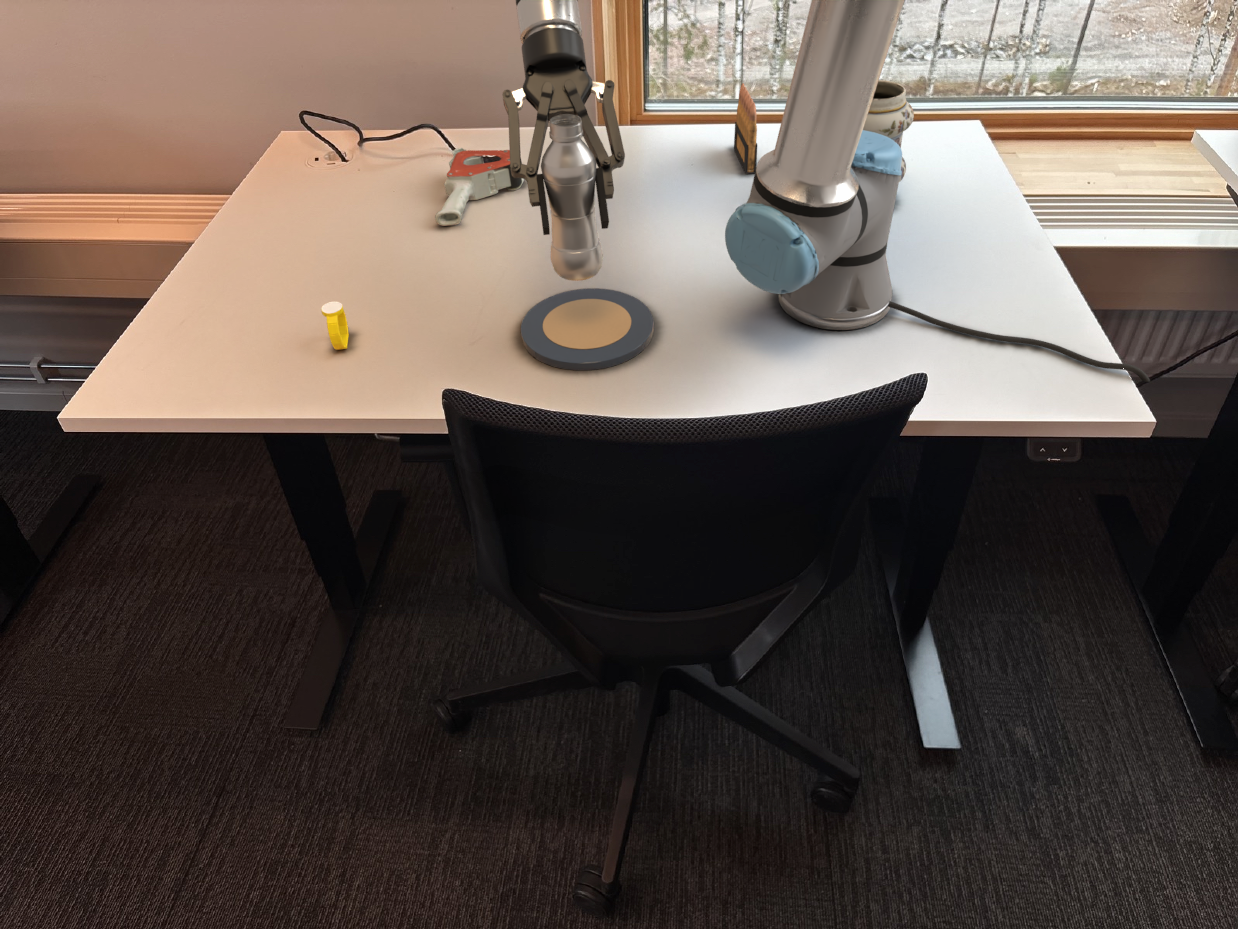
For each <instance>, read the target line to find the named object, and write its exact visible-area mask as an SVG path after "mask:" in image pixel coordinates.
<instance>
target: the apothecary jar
mask: <svg viewBox="0 0 1238 929" xmlns="http://www.w3.org/2000/svg"><path fill="white" fill-rule="evenodd" d="M906 95H907V91H906V88H905V86H904V85H903V84H900V83H898V82H895V81H892V80H885V79H879V81H878V84H877V87H876V90H875V93H874V96H873V99H872V103H871V106H870V109H869V112H868V115H867V118H866V121H865V124H864V127H863V130H865V131H870V132H874V133H878V134H881V135H884V136H886V137H888V138H890V139H892V140H893V141H894V142H896V143H897V144H898V145H899V146H900V148H901V149H902V142H903V137H904V136H903V135H904V132H906V131H907V130H908V129H909V128H910V126H912V124H913V122H914V118H915V112H914V109H913V106H912V105H911V104H910V102H908V101H907V96H906ZM901 171H902V174H901V175H900V179H899V183H900V182H901V181H903V179H904V178H905V176H906V173H907V163H906V161H905V158H904V157H903V156H902V163H901Z"/></svg>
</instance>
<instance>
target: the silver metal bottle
mask: <svg viewBox="0 0 1238 929" xmlns="http://www.w3.org/2000/svg"><path fill="white" fill-rule="evenodd" d="M548 125H549V132H548V134H549V135H548V136H549V138H550V139H551V142H550V143H549V145H548V146H547V147H546V150H545V151H544V153H543V154H542V156H541V161H540V170H541V174H542V175H543V180H544V188H545V191H546V193H547V198H548V204H549V205H548V206H549V209H550V211H549V212H550V217H551V243H550V261H551V265H552V268H553V270H554V272H555V273H556V274H557V275H558V276H559V277H560V278H561V279H564V280H567V281H575V282H578V281H579V282H580V281H587V280H589V279H592V278H593V277H595V276H596V275H598V273H599V272H600V270H601V269H602V267H603V261H604V259H603V258H604V253H603V247H602V243H601V241H600V240H601V239H600V238H599V232H598V226H597V220H596V207H595V205H596V204H595V203H596V199H595V196H596V195H595V191H596V181H595V180H596V168H597V164H596V161H595V158H594V155H593V153H592V152H591V151H590V149H589V147H588V145H587V143H586V142H585V141H584V140H583V139H582V138H584V137H583V129H582V120H581V117H579V116H577V115H573V114H562V115H557V116H554V117H552V118H551V119H550V121H549V123H548Z"/></svg>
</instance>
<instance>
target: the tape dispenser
mask: <svg viewBox="0 0 1238 929" xmlns="http://www.w3.org/2000/svg"><path fill="white" fill-rule="evenodd" d="M520 154H521V151H520ZM486 156H490V157H493V156H495V157H497V158H499V160H497V161H492V162H484V157H486ZM521 164H523V163H522V160H521ZM448 166H449V170H448V172H447V173H446V180H445V182H444V183H443V185H444V190H445V194H446V195H447V196H448V197H447V199H446V200H445V202H444V204H443V206H442V208H441V210H439V211H438V212H436V213H435V216H434V220H435V222H436V223H437V224H438V225H440V226H442V227H444V226H446V227H447V226H456V225H459V224H460V223H461V222H462V220H463V219H462V218H463V216H462V215H463V213H464V212H465V208H466V206H467V203H468V202H469V201H477V200H481V199H484V198H488V197H490V196H491V197H492V196H494V195H496V194H498V193H499V190H502V189H506V190H507V191H516V190H519V189H521V187H522V185H523V184H524V181H526V180H525V179H523V178H514V177H513V176H512V174H511V168H510V149H501V150H500V149H499V150H497V149H491V150H490V149H487V150H485V149H482V150H479V149H477V150H476V149H474V150H471V149H468V150H467V149H464V148H463V147H458V148H455V149H454V150H452V158H451V160H449V161H448Z"/></svg>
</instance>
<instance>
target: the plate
mask: <svg viewBox="0 0 1238 929" xmlns="http://www.w3.org/2000/svg"><path fill="white" fill-rule="evenodd" d="M654 324H655V322H654V316H653V314H652V311H651V310H650V309H649V307H648V306H647V305H646V304H645V303H644V302H642V300H640V299H638V298H637V297H635V296H633V295H631V294H628V293H625V292H623V291H619V290H614V289H609V288H598V287H594V288H593V287H591V288H578V289H571V290H567V291H563V292H558V293H556V294H553V295H551V296H548V297H546V298H544V299H543V300H541V301H539V302H538V303H536V304H535V305H534V306H532V307H531V308H530V309H529V310H528V311H527V312H526V314H525V315H524V317H523V319H522V321H521V325H520V336H521V341H522V344H523V347H524V349H525V350H526V351H527V352H528V354H529V355H531V356H532V357H533V358H535V359H536V360H537V361H539V362H541V363H543V364H545V365H547V366H551V367H553V368H557V369H562V370H568V371H569V370H570V371H595V370H596V371H597V370H602V369H603V370H604V369H607V368H611V367H615V366H618V365H621V364H623V363H626V362H628V361H629V360H631V359H633V358H635V357H637V356H638V355H639V354H641V353H642V352H643V351H644V350H645V349H646V348H647V347H648V345H649V344H650V342H651V341H652V339H653V335H654V332H655V331H654V330H655V325H654Z"/></svg>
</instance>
